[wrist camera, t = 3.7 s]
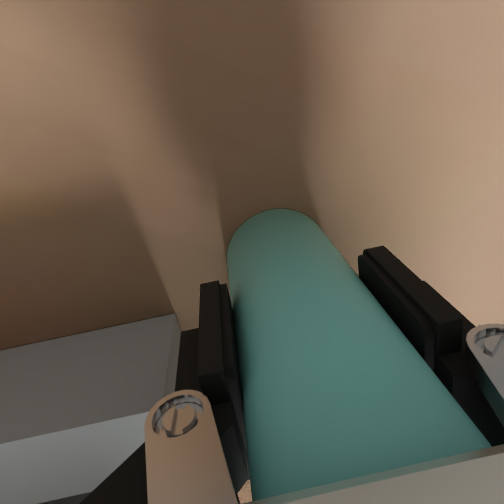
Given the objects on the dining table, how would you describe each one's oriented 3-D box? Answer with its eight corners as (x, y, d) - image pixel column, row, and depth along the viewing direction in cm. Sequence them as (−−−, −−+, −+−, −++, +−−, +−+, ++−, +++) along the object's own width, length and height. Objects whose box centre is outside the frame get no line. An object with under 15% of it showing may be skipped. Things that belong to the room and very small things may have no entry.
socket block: (175, 313, 15) (161, 408, 11) (229, 486, 20) (236, 604, 15) (-96, 370, 15) (-227, 493, 11) (21, 533, 20) (-35, 667, 15)
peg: (321, 198, 14) (708, 583, 3) (331, 290, 16) (610, 751, 5) (216, 220, 14) (248, 692, 3) (237, 310, 16) (306, 825, 5)
